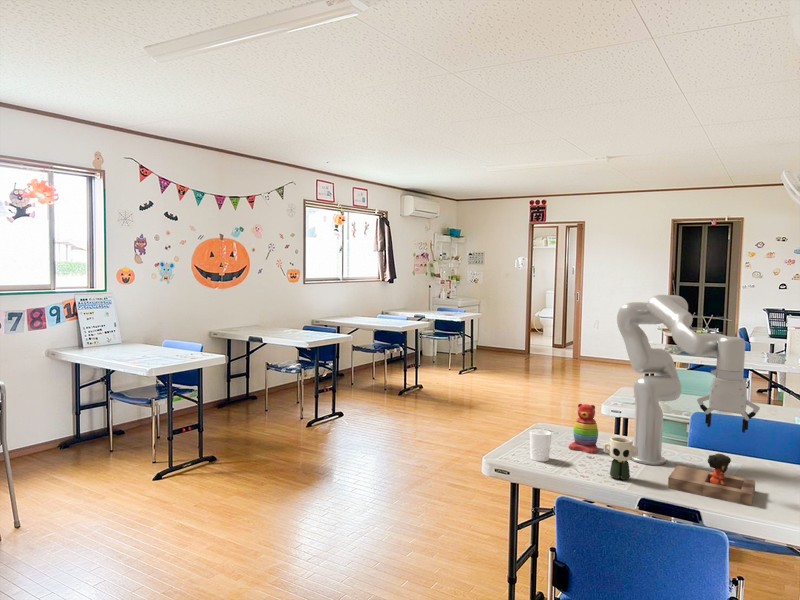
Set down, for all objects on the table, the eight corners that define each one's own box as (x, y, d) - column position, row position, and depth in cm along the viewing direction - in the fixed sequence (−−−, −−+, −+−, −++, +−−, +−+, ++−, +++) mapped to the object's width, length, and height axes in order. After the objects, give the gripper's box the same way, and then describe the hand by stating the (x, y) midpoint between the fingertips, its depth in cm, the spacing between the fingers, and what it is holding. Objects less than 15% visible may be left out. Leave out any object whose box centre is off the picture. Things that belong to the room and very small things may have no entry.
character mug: (602, 478, 190) (604, 440, 190) (602, 472, 197) (603, 435, 197) (637, 483, 187) (639, 444, 186) (636, 476, 194) (637, 438, 193)
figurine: (721, 495, 178) (723, 457, 178) (704, 489, 183) (706, 453, 183) (732, 492, 181) (734, 455, 181) (715, 487, 186) (717, 450, 186)
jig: (667, 488, 183) (668, 477, 183) (676, 475, 196) (677, 465, 196) (751, 506, 170) (752, 494, 170) (754, 491, 183) (755, 480, 183)
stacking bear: (567, 449, 224) (568, 404, 224) (575, 443, 233) (577, 400, 232) (594, 454, 218) (596, 408, 218) (602, 448, 227) (604, 404, 226)
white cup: (526, 460, 208) (528, 433, 208) (530, 454, 215) (531, 428, 215) (549, 463, 205) (550, 436, 205) (551, 457, 212) (552, 431, 212)
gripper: (697, 373, 182) (694, 426, 183) (761, 380, 172) (757, 436, 173) (700, 370, 188) (697, 421, 189) (762, 377, 178) (758, 431, 179)
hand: (726, 428), depth 181 cm, fingers open, 9 cm apart
